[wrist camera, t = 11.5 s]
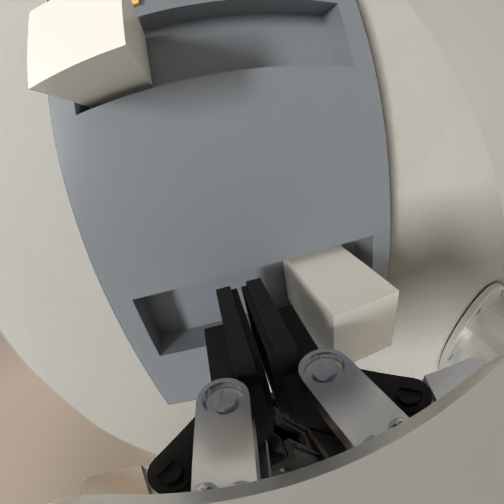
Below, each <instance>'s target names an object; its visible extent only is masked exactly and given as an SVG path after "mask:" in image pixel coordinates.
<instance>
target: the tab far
mask: <svg viewBox="0 0 504 504" xmlns="http://www.w3.org/2000/svg"><path fill="white" fill-rule="evenodd" d="M283 266H284V273H285V280H286V287H287V294H288V300H289V301H290V303H291V304H292V306H293V307H294V309H295V311H296V312H297V314H298V315H299V317H300V318H301V320H302V322H303V323H304V325H305V326H306V328H307V330H308V331H309V333H310V334H311V336H312V338H313V339H314V341H315V342H316V344H317V345H318V347H319V349H324V348H329V349H335V350H338V351H341V352H342V353H343V354H345V355H346V356H347V357H348V358H349V359H350V360H351V361H352V362H355V361H357V360H359V359H362V358H364V357H366V356H368V355H371V354H373V353H375V352H377V351H379V350H381V349H383V348H385V347H387V346H390V345H391V341H392V336H393V330H394V324H395V318H396V312H397V305H398V297H399V290H398V289H396V288H395V287H394V286H393V285H391V284H390V283H389V282H388V281H386V280H385V279H384V278H383V277H381V276H380V275H379V274H377V273H376V272H375V271H374V270H372V269H371V268H370V267H368V266H367V265H366V264H364V263H363V262H362V261H360V260H359V259H358V258H356V257H355V256H354V255H352V254H351V253H350V252H348V251H347V250H346V249H344V248H343V247H342V246H340V245H338V246H334V247H331V248H327V249H323V250H320V251H316V252H313V253H309V254H306V255H302V256H298V257H295V258H291V259H287V260H284V261H283Z"/></svg>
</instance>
